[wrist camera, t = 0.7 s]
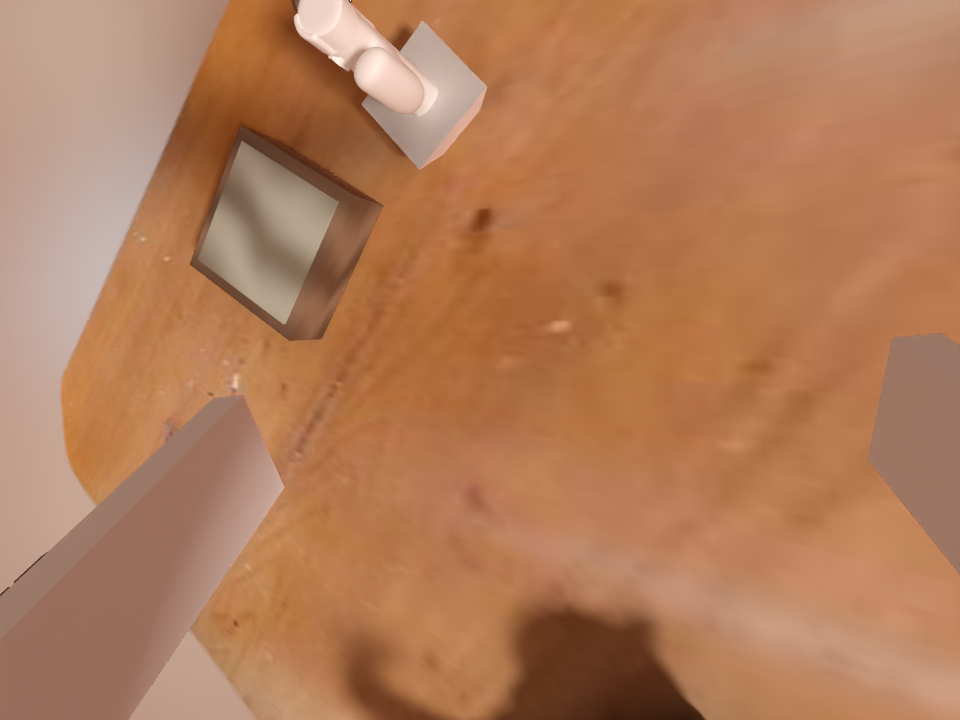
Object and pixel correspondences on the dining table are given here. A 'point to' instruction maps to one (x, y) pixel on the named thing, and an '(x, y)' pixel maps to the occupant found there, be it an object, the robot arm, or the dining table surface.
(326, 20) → the figurine
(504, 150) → the dining table surface
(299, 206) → the walnut pedestal
